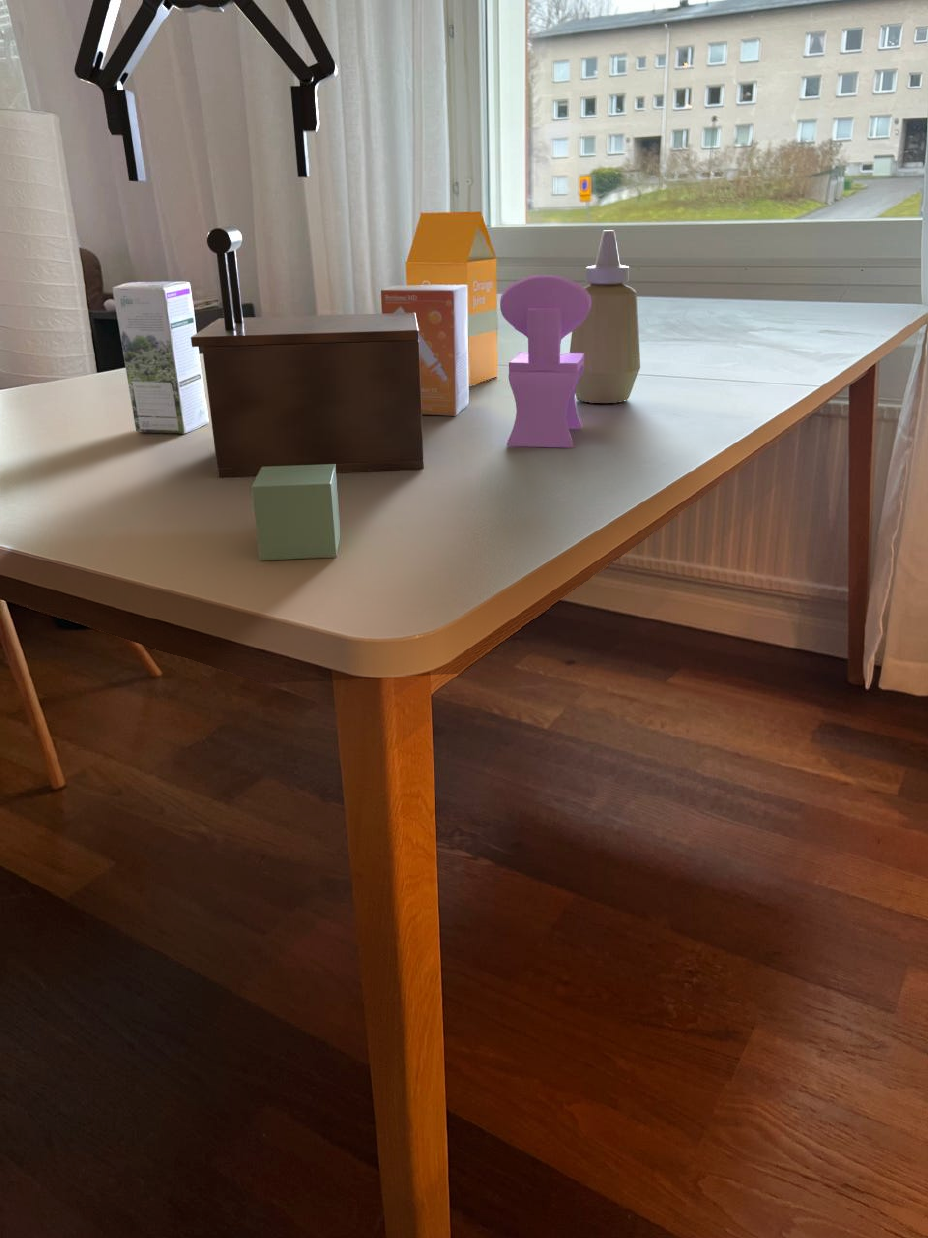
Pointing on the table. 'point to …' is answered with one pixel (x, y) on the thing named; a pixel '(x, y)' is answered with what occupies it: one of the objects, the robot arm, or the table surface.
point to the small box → (437, 342)
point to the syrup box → (161, 356)
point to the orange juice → (461, 278)
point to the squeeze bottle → (608, 330)
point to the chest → (315, 406)
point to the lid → (288, 327)
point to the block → (296, 512)
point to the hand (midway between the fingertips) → (221, 179)
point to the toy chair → (545, 358)
